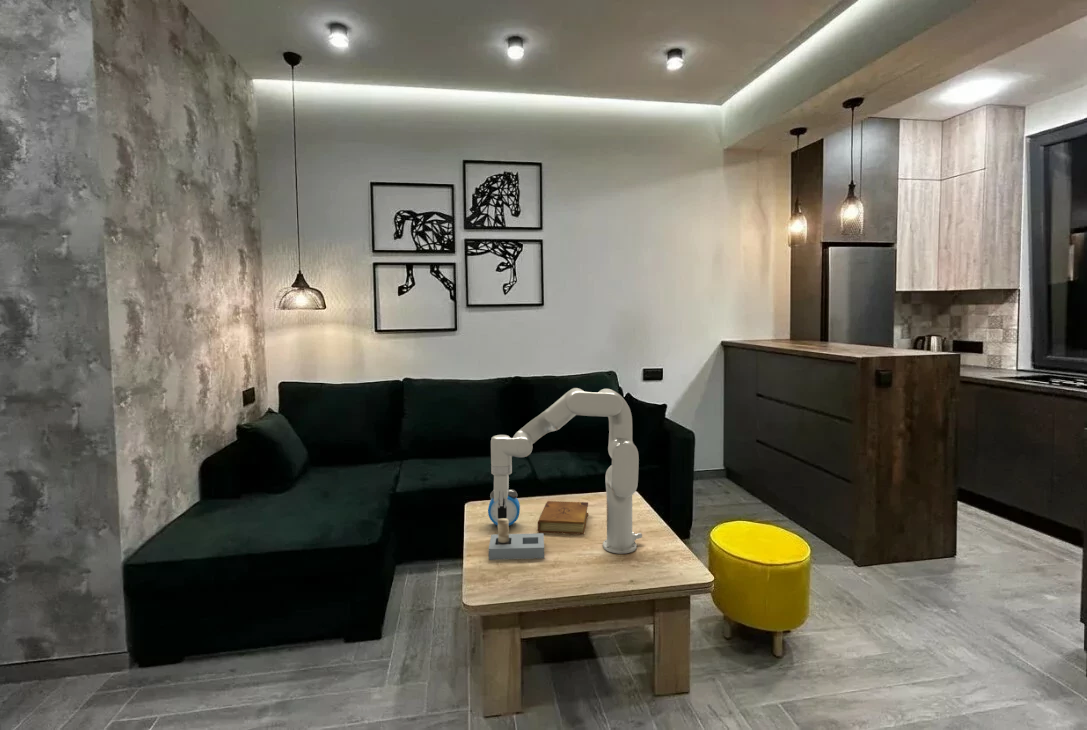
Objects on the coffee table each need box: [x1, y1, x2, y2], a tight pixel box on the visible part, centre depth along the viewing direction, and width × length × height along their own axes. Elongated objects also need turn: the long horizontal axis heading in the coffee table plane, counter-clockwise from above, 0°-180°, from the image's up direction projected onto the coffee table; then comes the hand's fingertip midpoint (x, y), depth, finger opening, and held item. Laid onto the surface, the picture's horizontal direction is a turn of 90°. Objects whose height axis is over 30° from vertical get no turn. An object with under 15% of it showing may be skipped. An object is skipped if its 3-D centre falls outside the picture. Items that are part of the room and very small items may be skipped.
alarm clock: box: [487, 488, 521, 527], centre depth 228 cm, size 13×6×15 cm, turn 91°
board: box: [488, 532, 545, 561], centre depth 202 cm, size 20×13×4 cm, turn 91°
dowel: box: [497, 518, 510, 545], centre depth 202 cm, size 4×4×12 cm
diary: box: [537, 500, 589, 535], centre depth 229 cm, size 23×19×6 cm
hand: (502, 517), depth 201 cm, fingers closed
